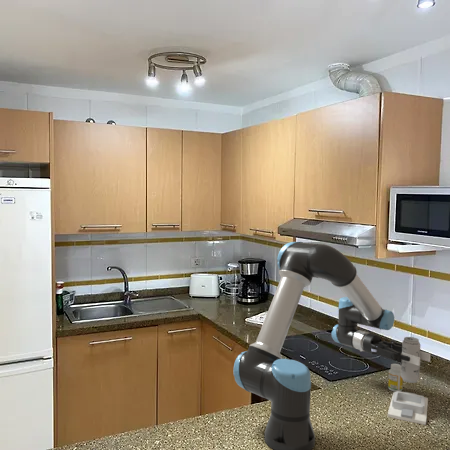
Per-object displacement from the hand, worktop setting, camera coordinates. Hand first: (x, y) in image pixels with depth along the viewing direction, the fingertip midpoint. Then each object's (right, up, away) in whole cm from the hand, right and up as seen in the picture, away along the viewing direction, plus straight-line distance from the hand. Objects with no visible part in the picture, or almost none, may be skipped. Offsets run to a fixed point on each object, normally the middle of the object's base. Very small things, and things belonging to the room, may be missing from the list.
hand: (424, 359), depth 153 cm
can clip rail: (-4, -19, +5) cm, 20 cm away
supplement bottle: (-2, -18, +21) cm, 28 cm away
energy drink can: (-3, -9, +4) cm, 11 cm away
